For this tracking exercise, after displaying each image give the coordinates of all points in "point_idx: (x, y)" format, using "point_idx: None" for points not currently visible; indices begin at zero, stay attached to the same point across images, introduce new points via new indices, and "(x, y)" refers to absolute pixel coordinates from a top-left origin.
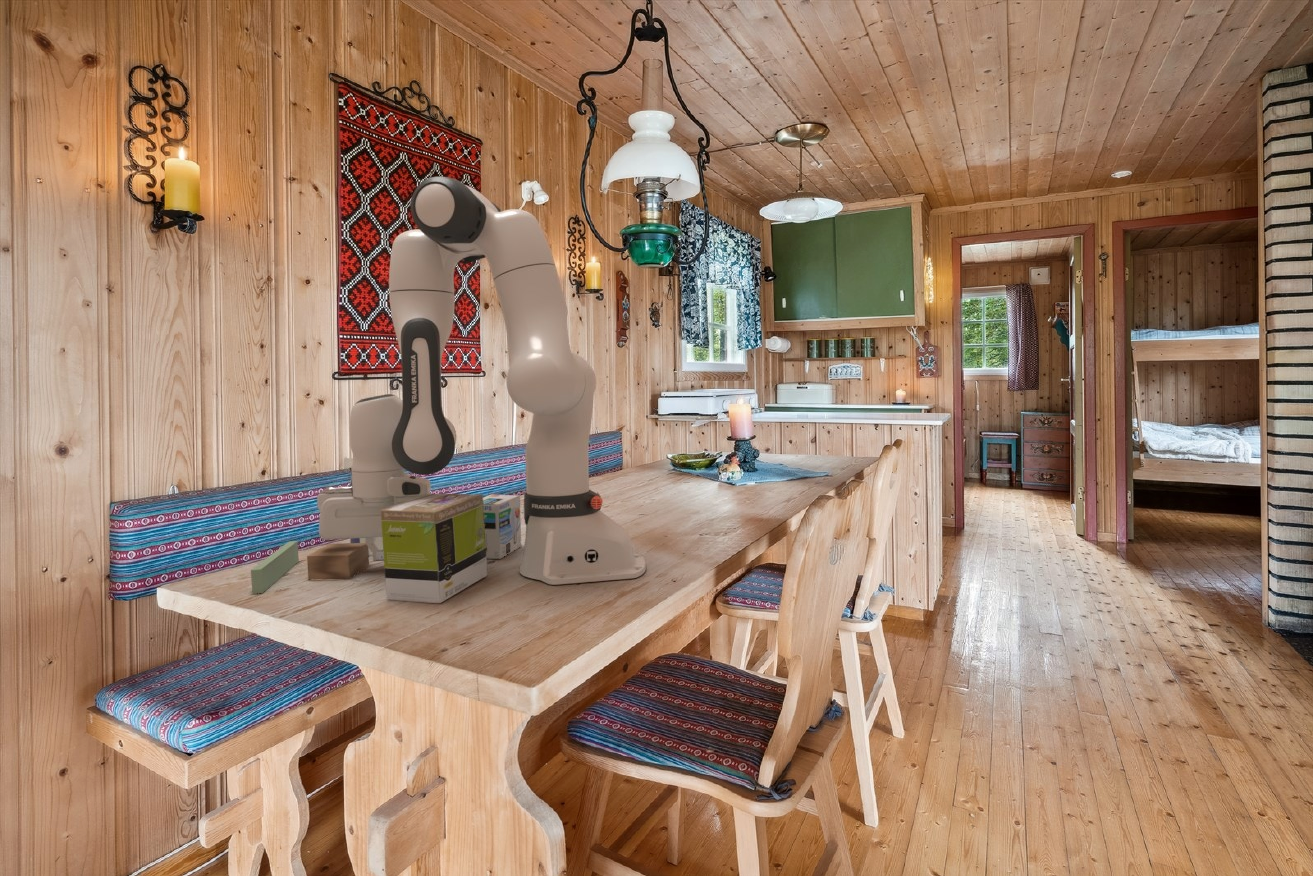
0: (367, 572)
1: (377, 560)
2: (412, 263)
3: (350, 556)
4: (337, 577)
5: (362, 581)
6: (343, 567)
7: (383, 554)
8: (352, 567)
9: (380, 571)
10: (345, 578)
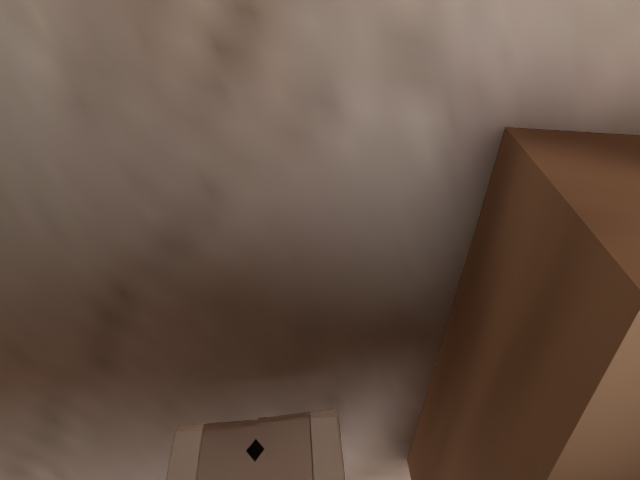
0: (376, 312)
1: (297, 416)
2: None
3: (592, 330)
4: (634, 143)
5: (349, 21)
6: (623, 195)
7: (233, 474)
8: (515, 263)
9: (268, 326)
10: (549, 135)
